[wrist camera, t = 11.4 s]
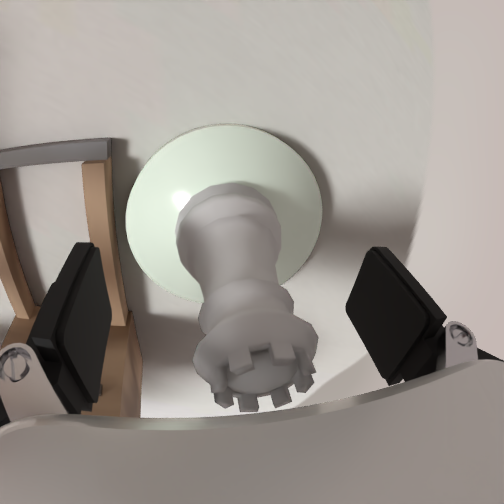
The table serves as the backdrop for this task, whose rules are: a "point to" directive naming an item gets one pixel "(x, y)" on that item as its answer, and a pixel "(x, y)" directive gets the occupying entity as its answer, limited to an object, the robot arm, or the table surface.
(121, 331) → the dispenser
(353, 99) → the table surface
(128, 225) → the pale green round disc
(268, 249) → the rook chess piece
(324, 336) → the table surface
